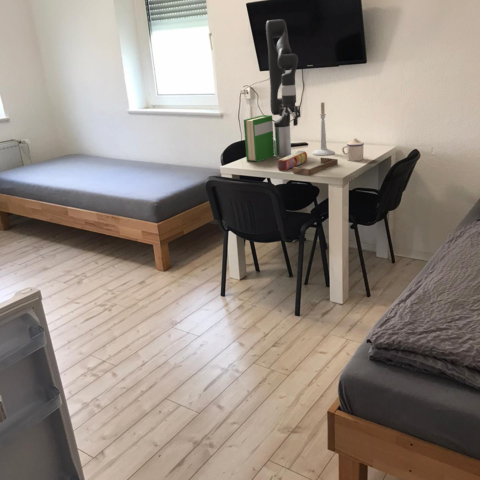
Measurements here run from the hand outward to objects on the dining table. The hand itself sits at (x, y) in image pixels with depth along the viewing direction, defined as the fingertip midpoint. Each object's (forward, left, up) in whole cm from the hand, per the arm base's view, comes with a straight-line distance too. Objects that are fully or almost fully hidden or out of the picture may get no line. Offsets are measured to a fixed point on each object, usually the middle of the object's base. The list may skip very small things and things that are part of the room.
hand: (290, 124), depth 280 cm
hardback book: (-26, +4, -22) cm, 34 cm away
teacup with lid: (+25, +23, -22) cm, 40 cm away
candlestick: (+1, +30, -22) cm, 37 cm away
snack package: (+4, -4, -22) cm, 23 cm away
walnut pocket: (+19, -4, -21) cm, 29 cm away
